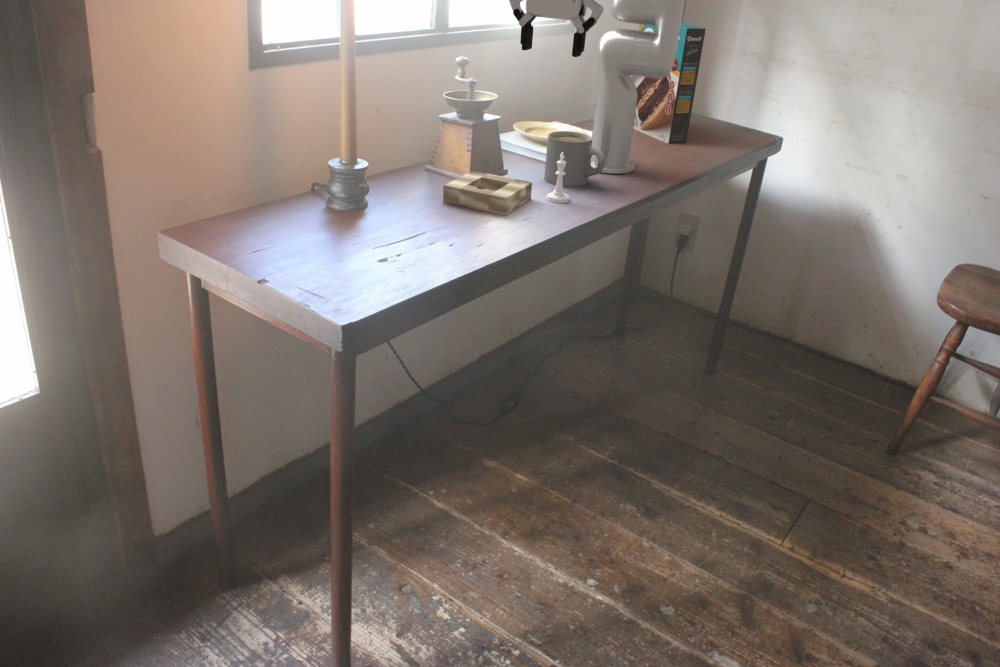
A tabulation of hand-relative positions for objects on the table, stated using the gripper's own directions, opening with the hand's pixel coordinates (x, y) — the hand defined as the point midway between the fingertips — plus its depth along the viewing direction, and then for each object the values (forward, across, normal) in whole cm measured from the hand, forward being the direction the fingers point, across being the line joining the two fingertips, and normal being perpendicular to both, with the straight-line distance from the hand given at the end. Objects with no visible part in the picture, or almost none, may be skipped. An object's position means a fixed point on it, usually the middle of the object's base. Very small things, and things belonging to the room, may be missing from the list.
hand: (551, 52), depth 141 cm
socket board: (+31, +13, -4) cm, 34 cm away
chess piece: (+31, +1, -14) cm, 34 cm away
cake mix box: (+31, 0, -88) cm, 93 cm away
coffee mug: (+31, +3, -28) cm, 42 cm away
